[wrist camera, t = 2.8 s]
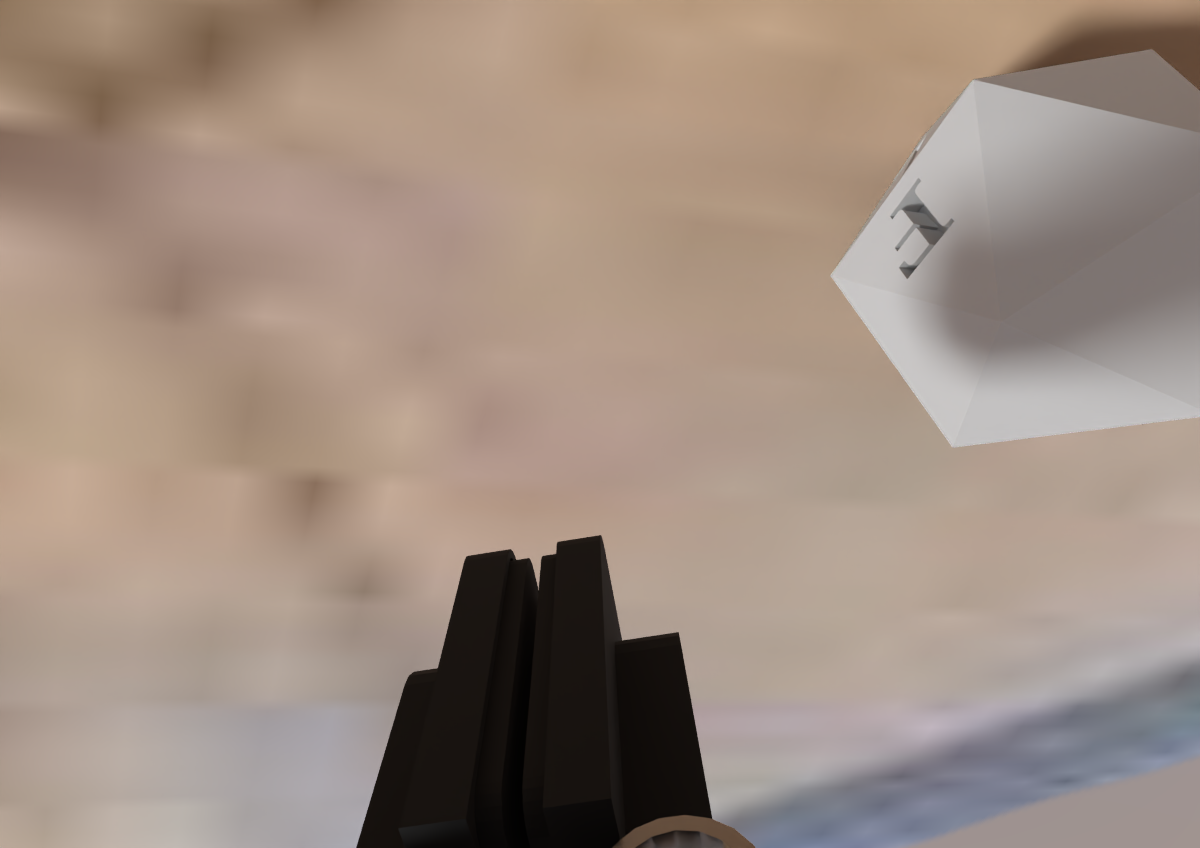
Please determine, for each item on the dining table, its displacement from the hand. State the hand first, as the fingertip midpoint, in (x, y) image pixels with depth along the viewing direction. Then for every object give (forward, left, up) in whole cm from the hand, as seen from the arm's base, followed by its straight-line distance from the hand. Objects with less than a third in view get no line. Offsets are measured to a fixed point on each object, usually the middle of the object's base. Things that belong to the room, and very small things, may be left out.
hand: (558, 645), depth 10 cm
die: (-1, +12, -15) cm, 19 cm away
